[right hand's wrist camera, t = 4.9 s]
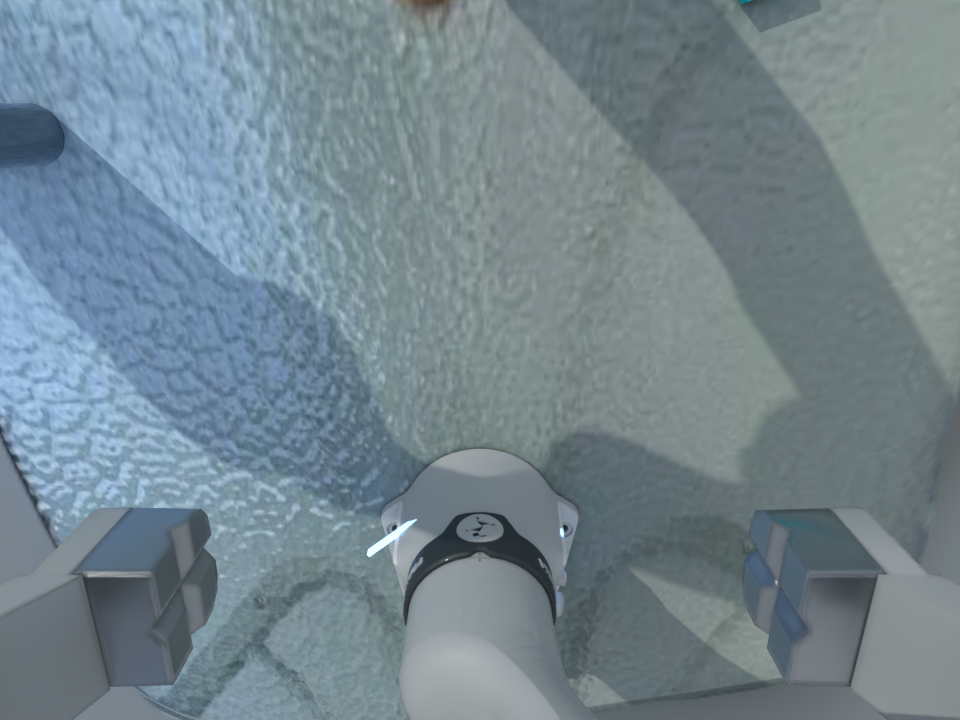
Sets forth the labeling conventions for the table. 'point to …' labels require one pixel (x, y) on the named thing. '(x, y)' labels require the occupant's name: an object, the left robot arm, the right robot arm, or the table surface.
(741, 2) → the decorative ornament
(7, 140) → the jar
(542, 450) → the table surface
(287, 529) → the table surface
